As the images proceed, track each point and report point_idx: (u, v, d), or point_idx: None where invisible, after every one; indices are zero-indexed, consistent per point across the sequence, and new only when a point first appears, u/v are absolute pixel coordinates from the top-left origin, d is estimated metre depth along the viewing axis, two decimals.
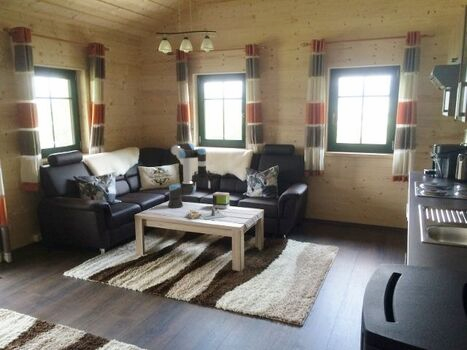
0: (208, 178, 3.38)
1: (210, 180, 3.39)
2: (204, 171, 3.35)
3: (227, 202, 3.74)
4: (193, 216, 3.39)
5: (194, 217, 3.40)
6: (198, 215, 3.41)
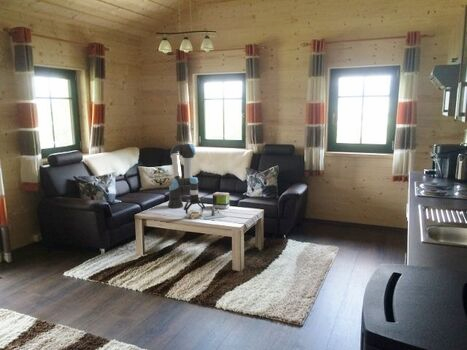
0: (200, 206, 3.46)
1: (202, 208, 3.47)
2: (196, 199, 3.43)
3: (227, 202, 3.74)
4: (193, 216, 3.39)
5: (194, 217, 3.40)
6: (198, 215, 3.41)
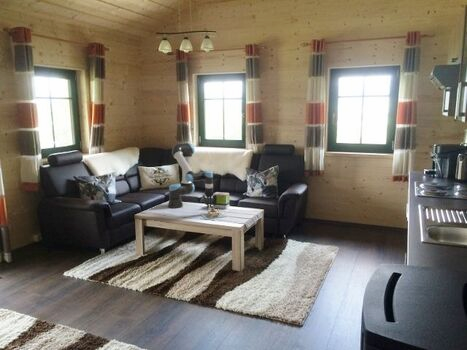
0: (210, 201, 3.54)
1: (210, 204, 3.55)
2: (211, 192, 3.53)
3: (227, 202, 3.74)
4: (211, 214, 3.42)
5: (212, 215, 3.43)
6: (217, 214, 3.44)
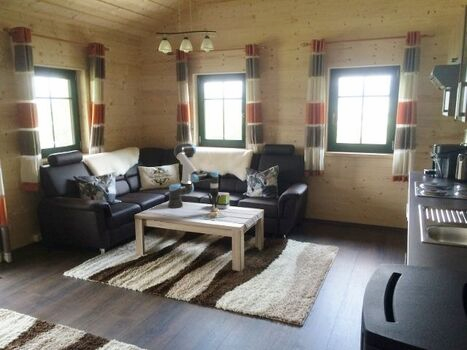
0: None
1: (215, 204, 3.55)
2: (216, 192, 3.53)
3: (227, 202, 3.74)
4: (209, 214, 3.44)
5: (210, 215, 3.44)
6: (214, 214, 3.43)
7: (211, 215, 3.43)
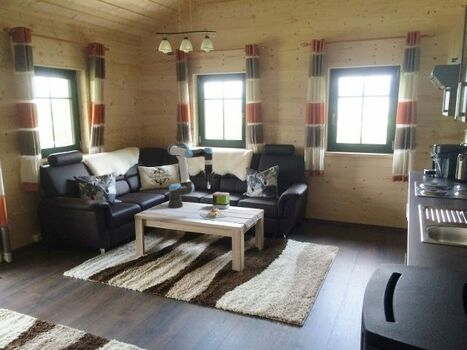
0: (209, 178, 3.52)
1: (209, 181, 3.52)
2: (210, 169, 3.50)
3: (227, 202, 3.74)
4: (209, 214, 3.44)
5: (210, 215, 3.44)
6: (214, 214, 3.43)
7: (211, 215, 3.44)
